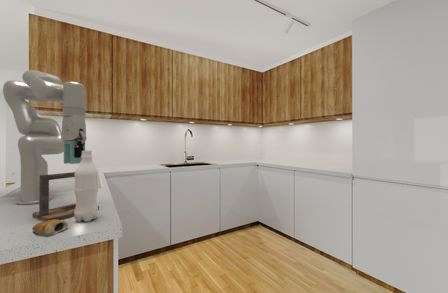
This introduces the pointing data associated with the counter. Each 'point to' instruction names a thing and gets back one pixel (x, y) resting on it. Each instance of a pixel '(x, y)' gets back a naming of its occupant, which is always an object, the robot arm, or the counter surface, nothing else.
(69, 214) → the hook shelf
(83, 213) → the water bottle
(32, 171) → the robot arm
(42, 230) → the pastry
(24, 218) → the counter surface
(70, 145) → the teal rectangular block
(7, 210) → the counter surface
